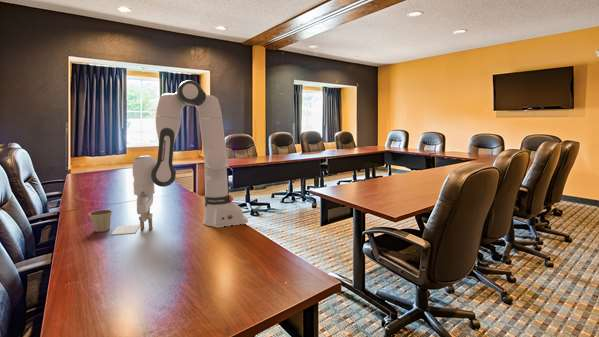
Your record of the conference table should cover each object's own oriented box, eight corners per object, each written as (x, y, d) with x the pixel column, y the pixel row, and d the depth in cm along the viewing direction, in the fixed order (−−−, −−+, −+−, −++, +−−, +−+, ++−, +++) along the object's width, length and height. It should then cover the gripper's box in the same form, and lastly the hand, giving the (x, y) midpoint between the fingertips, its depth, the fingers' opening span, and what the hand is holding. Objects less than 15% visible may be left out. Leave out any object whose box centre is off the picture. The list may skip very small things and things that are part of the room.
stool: (153, 227, 160) (152, 213, 159) (151, 230, 155) (150, 216, 154) (141, 228, 158) (141, 214, 157) (139, 231, 153) (138, 216, 152)
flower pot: (103, 234, 150) (101, 215, 148) (85, 232, 151) (83, 214, 150) (118, 227, 159) (116, 210, 157) (101, 226, 160) (100, 209, 159)
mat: (140, 225, 162) (140, 224, 162) (135, 233, 151) (135, 232, 151) (117, 227, 159) (117, 226, 159) (110, 235, 148) (110, 234, 148)
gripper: (147, 194, 145) (149, 224, 147) (154, 185, 164) (156, 212, 166) (132, 195, 143) (134, 225, 145) (141, 186, 163) (142, 213, 165)
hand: (146, 218), depth 156 cm, fingers open, 7 cm apart
